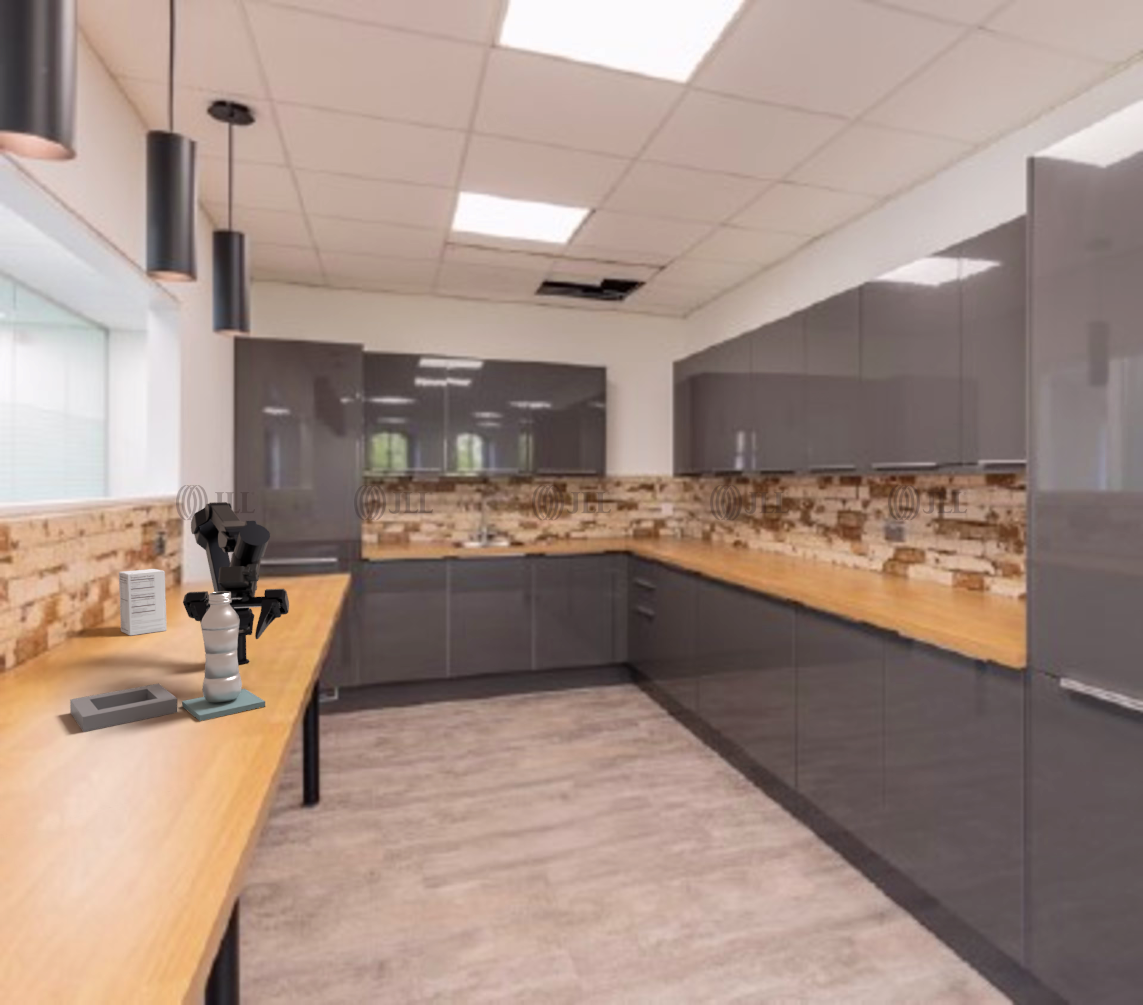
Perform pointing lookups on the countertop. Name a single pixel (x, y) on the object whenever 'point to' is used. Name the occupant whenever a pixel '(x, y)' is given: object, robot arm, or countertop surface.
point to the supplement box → (142, 601)
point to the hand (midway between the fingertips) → (231, 639)
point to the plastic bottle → (221, 649)
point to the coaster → (222, 705)
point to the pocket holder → (122, 706)
